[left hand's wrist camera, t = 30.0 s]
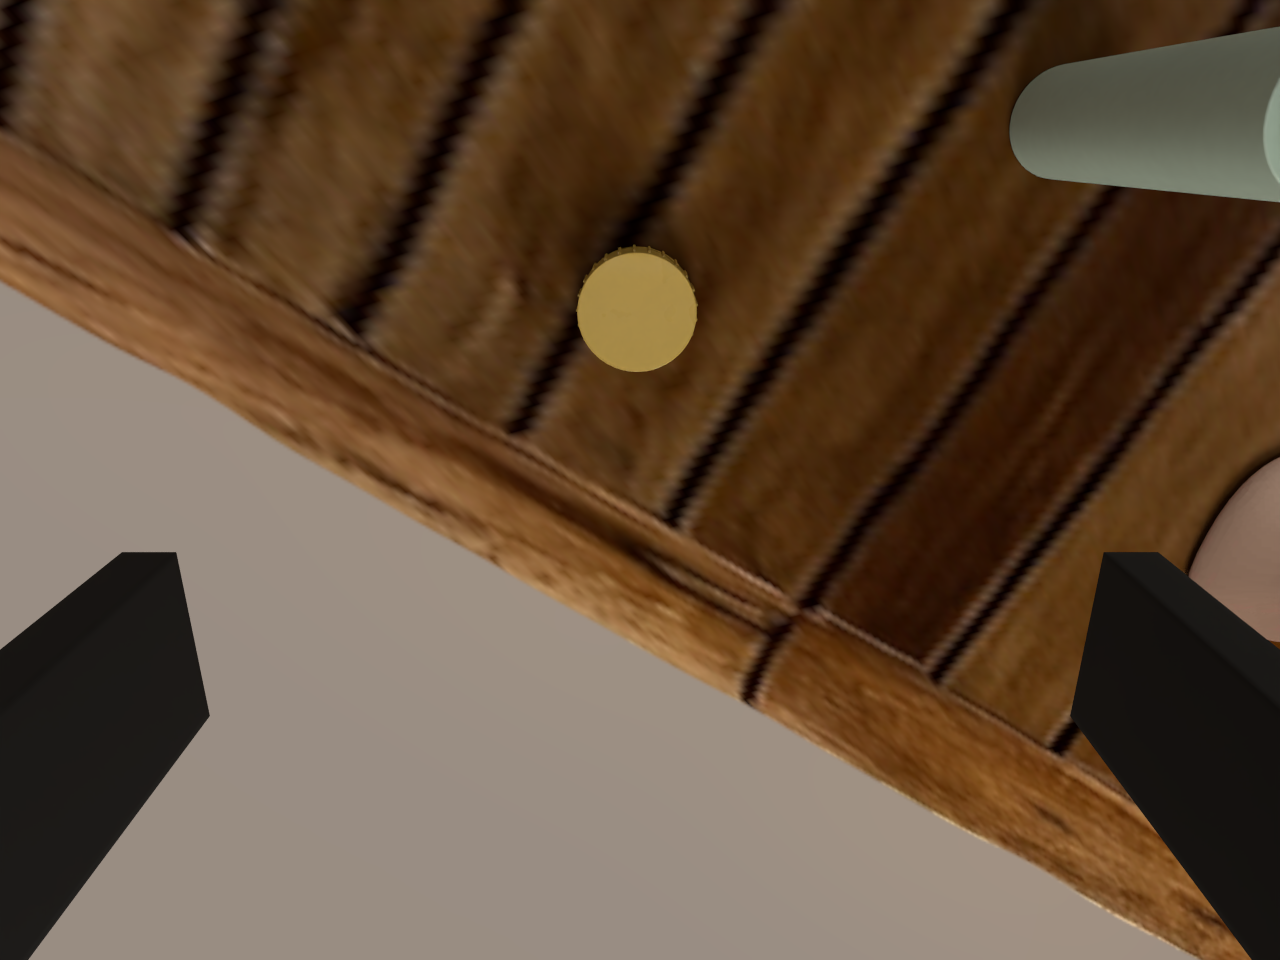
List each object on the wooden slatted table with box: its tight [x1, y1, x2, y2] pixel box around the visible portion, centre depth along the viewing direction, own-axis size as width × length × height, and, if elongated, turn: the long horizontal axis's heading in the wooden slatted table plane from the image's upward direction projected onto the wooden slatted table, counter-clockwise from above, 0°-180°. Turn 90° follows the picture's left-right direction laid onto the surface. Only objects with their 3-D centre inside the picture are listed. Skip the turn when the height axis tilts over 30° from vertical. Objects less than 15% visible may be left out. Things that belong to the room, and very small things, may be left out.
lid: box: [576, 245, 698, 372], centre depth 39 cm, size 5×5×2 cm
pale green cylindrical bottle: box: [1010, 27, 1280, 202], centre depth 29 cm, size 4×4×19 cm
